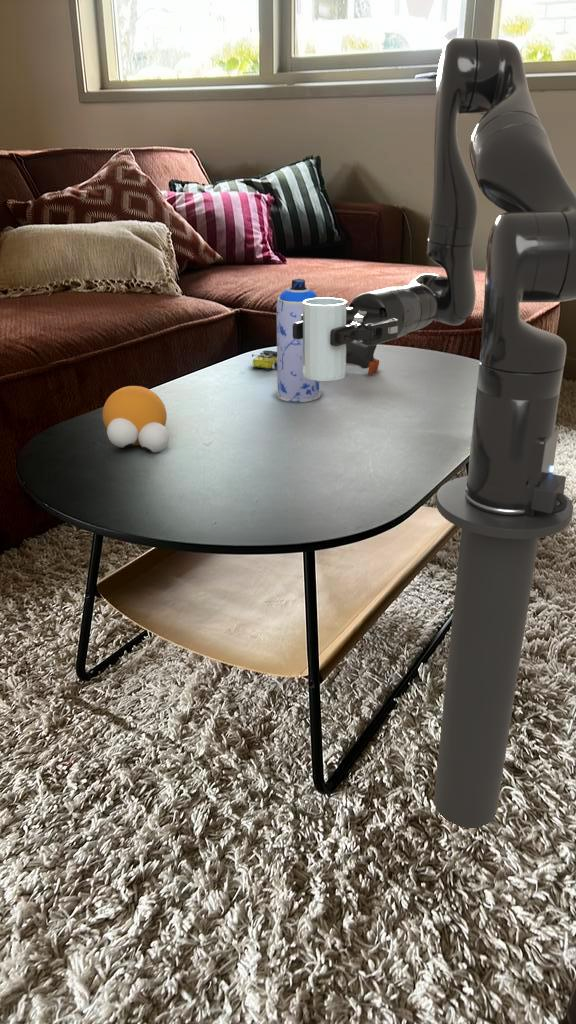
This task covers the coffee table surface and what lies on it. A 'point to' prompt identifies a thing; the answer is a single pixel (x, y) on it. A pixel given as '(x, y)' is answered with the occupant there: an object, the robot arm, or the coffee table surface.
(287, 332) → the aerosol can
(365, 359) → the figurine
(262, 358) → the toy car
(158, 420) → the toy
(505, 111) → the robot arm
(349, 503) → the coffee table surface
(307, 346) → the plastic cup
